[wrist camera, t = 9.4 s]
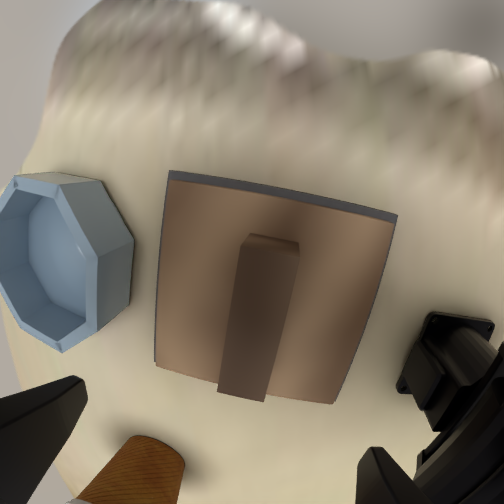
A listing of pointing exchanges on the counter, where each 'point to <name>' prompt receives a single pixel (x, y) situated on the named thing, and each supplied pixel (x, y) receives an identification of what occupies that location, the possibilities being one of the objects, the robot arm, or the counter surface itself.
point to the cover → (264, 290)
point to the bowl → (62, 257)
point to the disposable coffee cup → (137, 476)
